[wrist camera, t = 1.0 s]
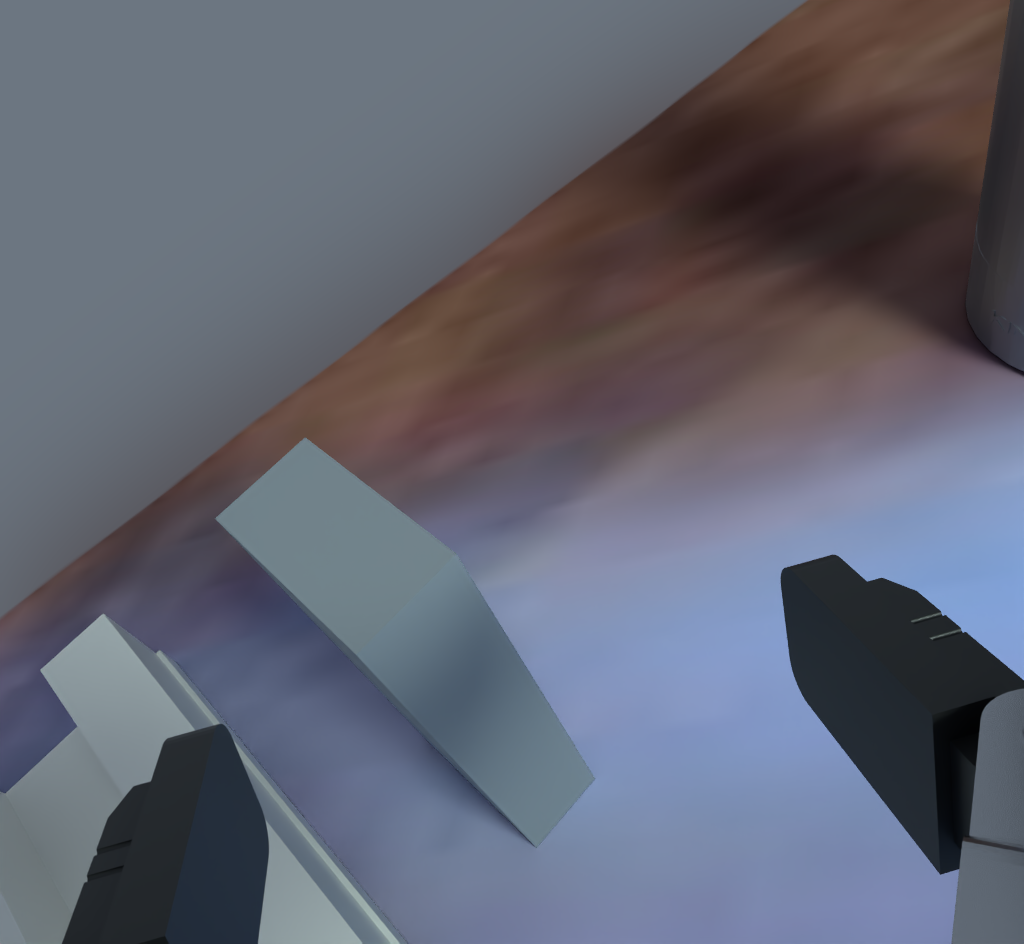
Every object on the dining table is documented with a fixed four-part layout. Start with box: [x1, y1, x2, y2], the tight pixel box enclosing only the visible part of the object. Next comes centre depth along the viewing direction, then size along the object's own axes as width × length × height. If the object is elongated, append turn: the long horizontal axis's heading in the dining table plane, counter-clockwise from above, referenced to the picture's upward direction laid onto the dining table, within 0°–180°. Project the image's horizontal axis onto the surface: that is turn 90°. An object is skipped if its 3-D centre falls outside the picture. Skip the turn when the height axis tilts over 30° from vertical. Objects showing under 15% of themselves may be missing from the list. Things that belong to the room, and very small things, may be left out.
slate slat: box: [215, 438, 595, 848], centre depth 27 cm, size 3×6×15 cm, turn 45°
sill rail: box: [0, 613, 408, 944], centre depth 31 cm, size 11×18×5 cm, turn 45°
